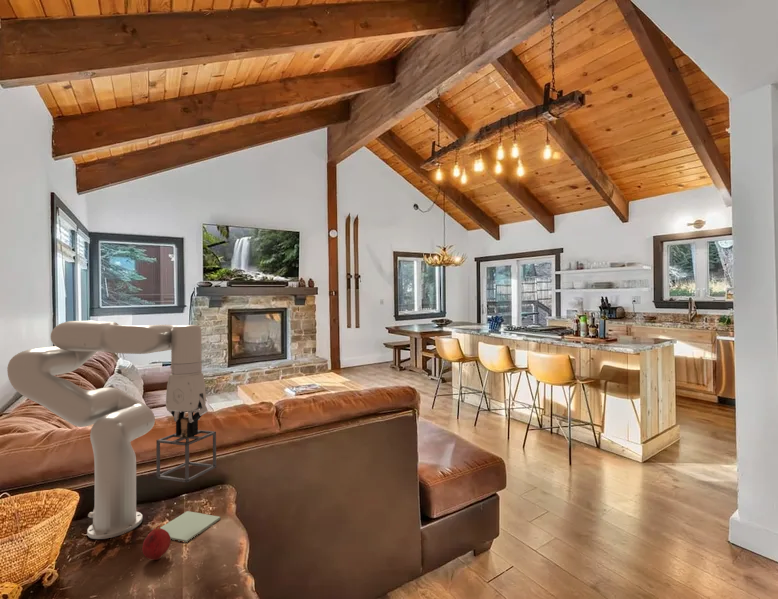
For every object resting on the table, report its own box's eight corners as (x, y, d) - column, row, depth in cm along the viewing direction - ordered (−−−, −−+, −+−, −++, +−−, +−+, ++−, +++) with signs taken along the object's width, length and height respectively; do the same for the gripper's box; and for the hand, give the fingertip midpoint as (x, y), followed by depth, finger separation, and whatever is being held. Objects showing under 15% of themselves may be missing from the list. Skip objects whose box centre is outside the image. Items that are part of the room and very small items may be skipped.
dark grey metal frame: (156, 478, 104) (156, 421, 105) (187, 463, 114) (187, 411, 115) (187, 482, 101) (186, 424, 102) (216, 467, 111) (215, 414, 112)
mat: (151, 535, 103) (151, 533, 103) (187, 513, 115) (187, 511, 115) (186, 542, 100) (186, 540, 100) (220, 518, 111) (220, 516, 111)
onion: (157, 569, 90) (157, 533, 90) (136, 566, 91) (136, 531, 91) (175, 553, 95) (175, 520, 96) (155, 551, 96) (155, 518, 97)
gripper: (152, 370, 108) (152, 437, 107) (199, 371, 103) (200, 442, 102) (175, 366, 115) (175, 429, 114) (220, 367, 110) (220, 433, 109)
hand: (187, 434), depth 108 cm, fingers closed on dark grey metal frame, 3 cm apart
